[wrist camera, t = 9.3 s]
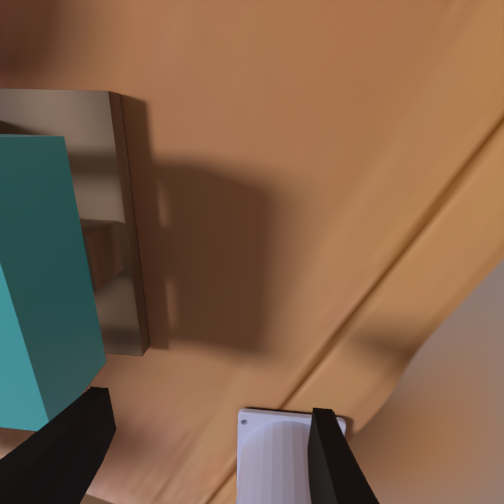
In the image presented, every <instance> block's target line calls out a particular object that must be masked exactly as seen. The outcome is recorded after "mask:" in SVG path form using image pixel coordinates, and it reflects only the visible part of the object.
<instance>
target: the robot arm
mask: <svg viewBox="0 0 504 504" xmlns="http://www.w3.org/2000/svg"><path fill="white" fill-rule="evenodd" d="M115 431H116V426H115V421H114V415H113V410H112V405H111V400H110V395H109V390H108V388H100V387H91V388H90V389H88V390H87V391H86V392H85V393H83V394H82V395H81V396H80V397H79V398H77V399H76V400H75V401H74V402H72V403H71V404H70V405H69V406H68V407H66V408H65V409H64V410H63V411H62V412H60V413H59V414H58V415H57V416H55V417H54V418H53V419H52V420H51V421H49V422H48V423H47V424H46V425H44V426H43V427H42V428H41V429H39V430H38V431H37V432H36V433H34V434H33V435H32V436H31V437H29V438H28V439H27V440H26V441H24V442H23V443H22V444H20V445H19V446H18V447H16V448H15V449H14V450H12V451H11V452H10V453H8V454H7V455H6V456H5V457H3V458H2V459H1V460H0V504H80V502H81V500H82V498H83V497H84V495H85V493H86V491H87V490H88V488H89V486H90V484H91V482H92V480H93V479H94V477H95V475H96V473H97V471H98V469H99V468H100V466H101V464H102V462H103V460H104V457H105V455H106V453H107V451H108V448H109V446H110V443H111V441H112V439H113V436H114V434H115ZM345 431H346V422H345V420H344V419H343V418H340V417H336V416H335V413H334V412H333V410H332V409H323V408H313V412H312V415H309V414H298V413H288V412H277V411H267V410H257V409H246V408H244V409H240V410H239V413H238V447H237V498H236V504H379V502H378V500H377V498H376V497H375V495H374V493H373V491H372V489H371V488H370V486H369V484H368V482H367V481H366V478H365V476H364V475H363V473H362V471H361V469H360V467H359V465H358V463H357V461H356V459H355V457H354V455H353V453H352V452H351V449H350V447H349V445H348V443H347V441H346V439H345V437H344V435H345Z"/></svg>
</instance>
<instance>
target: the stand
mask: <svg viewBox="0 0 504 504" xmlns="http://www.w3.org/2000/svg"><path fill="white" fill-rule="evenodd" d="M0 134H16V135H45V136H64V139H65V144H66V150H67V155H68V160H69V166H70V171H71V176H72V181H73V187H74V192H75V197H76V203H77V208H78V213H79V219H80V224H81V229H82V235H83V240H84V245H85V251H86V256H87V261H88V267H89V272H90V277H91V283H92V288H93V293H94V299H95V304H96V309H97V315H98V320H99V325H100V331H101V336H102V341H103V347H104V352H105V353H109V354H121V355H133V356H143V355H144V354H145V352H146V350H147V349H148V347H149V345H150V342H149V333H148V325H147V316H146V308H145V299H144V291H143V282H142V274H141V265H140V257H139V248H138V240H137V231H136V223H135V215H134V206H133V198H132V189H131V181H130V172H129V164H128V155H127V147H126V138H125V130H124V121H123V113H122V104H121V96H120V94H118V93H114V92H110V91H89V90H45V89H2V88H0Z"/></svg>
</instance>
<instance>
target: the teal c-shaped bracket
mask: <svg viewBox="0 0 504 504" xmlns="http://www.w3.org/2000/svg"><path fill="white" fill-rule="evenodd" d="M105 363H106V357H105V352H104V347H103V341H102V336H101V331H100V325H99V320H98V315H97V309H96V304H95V299H94V293H93V288H92V283H91V277H90V272H89V267H88V261H87V256H86V251H85V245H84V240H83V235H82V229H81V224H80V219H79V213H78V208H77V203H76V197H75V192H74V187H73V181H72V176H71V171H70V166H69V160H68V155H67V150H66V144H65V139H64V136H45V135H16V134H0V427H3V428H12V429H22V430H31V431H38V430H39V429H41V428H42V427H43V426H44V425H46V424H47V423H48V422H49V421H51V420H52V419H53V418H54V417H55V416H57V415H58V414H59V413H60V412H62V411H63V410H64V409H65V408H66V407H68V406H69V405H70V404H71V403H72V402H74V401H75V400H76V399H77V398H79V397H80V395H81V394H82V393H83V392H84V390H85V389H86V388H87V386H88V385H89V384H90V382H91V381H92V380H93V378H94V377H95V376H96V374H97V373H98V372H99V370H100V369H101V368H102V367H103V365H104V364H105Z"/></svg>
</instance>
